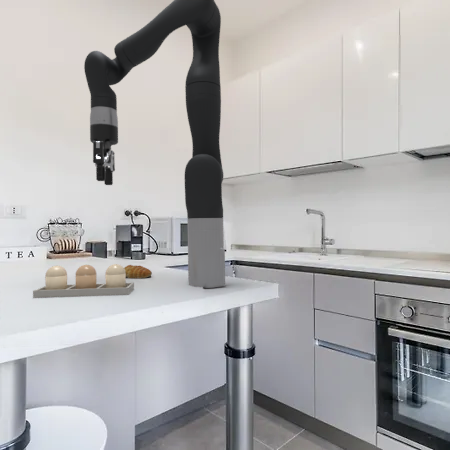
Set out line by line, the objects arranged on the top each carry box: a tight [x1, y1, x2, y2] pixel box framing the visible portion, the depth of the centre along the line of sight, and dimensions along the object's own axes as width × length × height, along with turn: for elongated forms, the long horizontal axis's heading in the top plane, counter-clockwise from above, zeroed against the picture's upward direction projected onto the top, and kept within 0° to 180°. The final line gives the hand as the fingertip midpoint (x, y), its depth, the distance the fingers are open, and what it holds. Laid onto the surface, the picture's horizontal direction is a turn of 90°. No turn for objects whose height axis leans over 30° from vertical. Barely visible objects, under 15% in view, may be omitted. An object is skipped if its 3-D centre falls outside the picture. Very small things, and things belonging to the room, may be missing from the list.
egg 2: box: [75, 264, 97, 289], centre depth 78 cm, size 4×4×6 cm
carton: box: [32, 282, 135, 299], centre depth 78 cm, size 20×7×2 cm, turn 95°
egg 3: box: [104, 263, 127, 288], centre depth 79 cm, size 4×4×6 cm
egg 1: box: [44, 265, 68, 290], centre depth 77 cm, size 4×4×6 cm
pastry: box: [123, 264, 152, 280], centre depth 107 cm, size 9×7×4 cm
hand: (104, 183), depth 98 cm, fingers open, 8 cm apart
